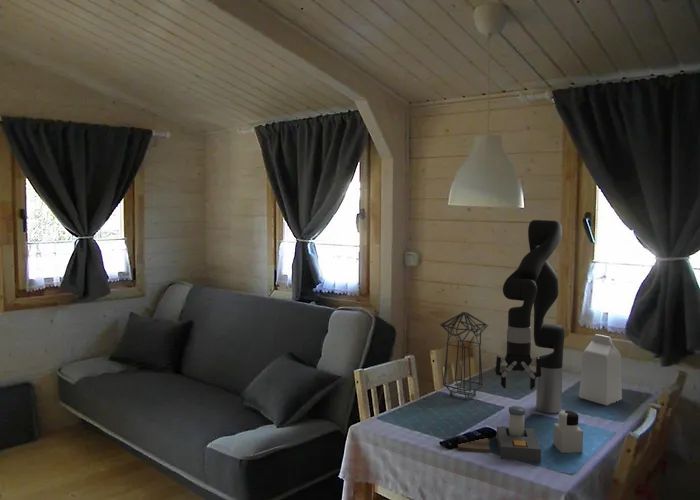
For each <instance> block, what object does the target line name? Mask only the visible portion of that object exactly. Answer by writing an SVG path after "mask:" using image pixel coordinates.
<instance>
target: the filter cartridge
mask: <svg viewBox="0 0 700 500" xmlns="http://www.w3.org/2000/svg"><path fill="white" fill-rule="evenodd" d="M508 414H509V415H508V416H509V417H508V418H509V419H508V427H509V436H521V437H524V428H525V414H526V409H525V408H524V407H522V406H517V405H516V406H515V405H512V406H510V407H508Z"/></svg>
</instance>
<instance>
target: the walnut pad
mask: <svg viewBox="0 0 700 500" xmlns="http://www.w3.org/2000/svg"><path fill="white" fill-rule="evenodd" d="M458 436H462V435H459V434H458V435H457V437H458ZM457 450H458V451H461V452H462V451H464V452H476V453H477V452H478V453H479V452H480V453H490V452H491V447H490V441H489V437H488V438H484V439H479V440H475V441H471V442H466V443H461V444H458V443H457Z"/></svg>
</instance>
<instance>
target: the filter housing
mask: <svg viewBox="0 0 700 500" xmlns="http://www.w3.org/2000/svg"><path fill="white" fill-rule="evenodd" d="M495 436H496V441H497V448H498V451H499V452H498V453H499V457H500V460H507V461H508V460H510V461H522V462H523V461H525V462H539V463H541V462H542V449H541V445H540V442H539V440H538V437H537V435H536V432H535V430H534V428H533V427H532V428H531V427H530V428H529V427H524V437H521V436H509V426H499V425H497V426H496V434H495ZM513 440H517V441H525V442H526V446H527V447H514V446H513Z"/></svg>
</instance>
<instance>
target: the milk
mask: <svg viewBox="0 0 700 500" xmlns="http://www.w3.org/2000/svg"><path fill="white" fill-rule="evenodd" d="M579 383H580V384H579V393H578V398H579V399H584V400H586V401H590V402H593V403H596V404H601V405H603V406H609V405H611V403H612V404H614V403H616V401H617V402H620V401H622V400H623V389H622V385H623V383H622V355H621V352H620V351H619V350H618V348H616V346H615V345H614V343H613V341H612V337H611V336H607V335H603V334H597V333H595V334H594V336H593V337H592V340H591V341H590V343H589V344H588V345H587V346H586V348H585V349H584V350H583V353H582V361H581V370H580V382H579ZM621 399H622V400H621ZM619 400H620V401H619Z"/></svg>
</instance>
